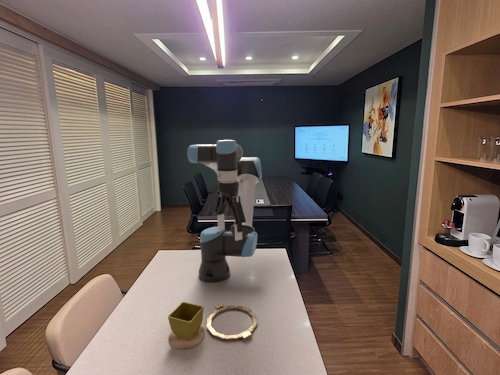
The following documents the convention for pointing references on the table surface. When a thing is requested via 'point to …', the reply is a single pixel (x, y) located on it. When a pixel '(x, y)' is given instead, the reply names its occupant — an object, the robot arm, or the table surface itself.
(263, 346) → the table surface
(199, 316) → the flower pot
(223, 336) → the socket ring
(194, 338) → the coaster
